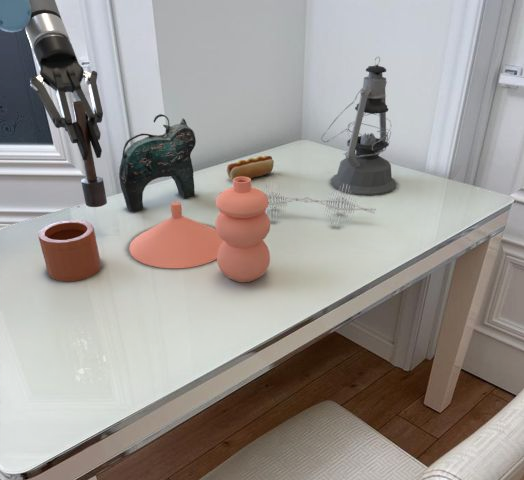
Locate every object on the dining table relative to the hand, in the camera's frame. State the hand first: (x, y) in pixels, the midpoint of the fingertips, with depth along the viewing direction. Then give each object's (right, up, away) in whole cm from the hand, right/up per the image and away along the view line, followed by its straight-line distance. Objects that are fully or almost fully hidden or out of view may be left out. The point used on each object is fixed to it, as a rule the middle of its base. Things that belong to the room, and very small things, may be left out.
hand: (92, 155), depth 107 cm
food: (+30, +9, +43) cm, 53 cm away
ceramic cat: (+9, -2, +28) cm, 30 cm away
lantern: (+59, +6, +39) cm, 71 cm away
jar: (-4, -22, +1) cm, 22 cm away
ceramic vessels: (+21, -19, +6) cm, 28 cm away
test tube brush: (+43, -8, +20) cm, 48 cm away
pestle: (-2, -7, +9) cm, 12 cm away
